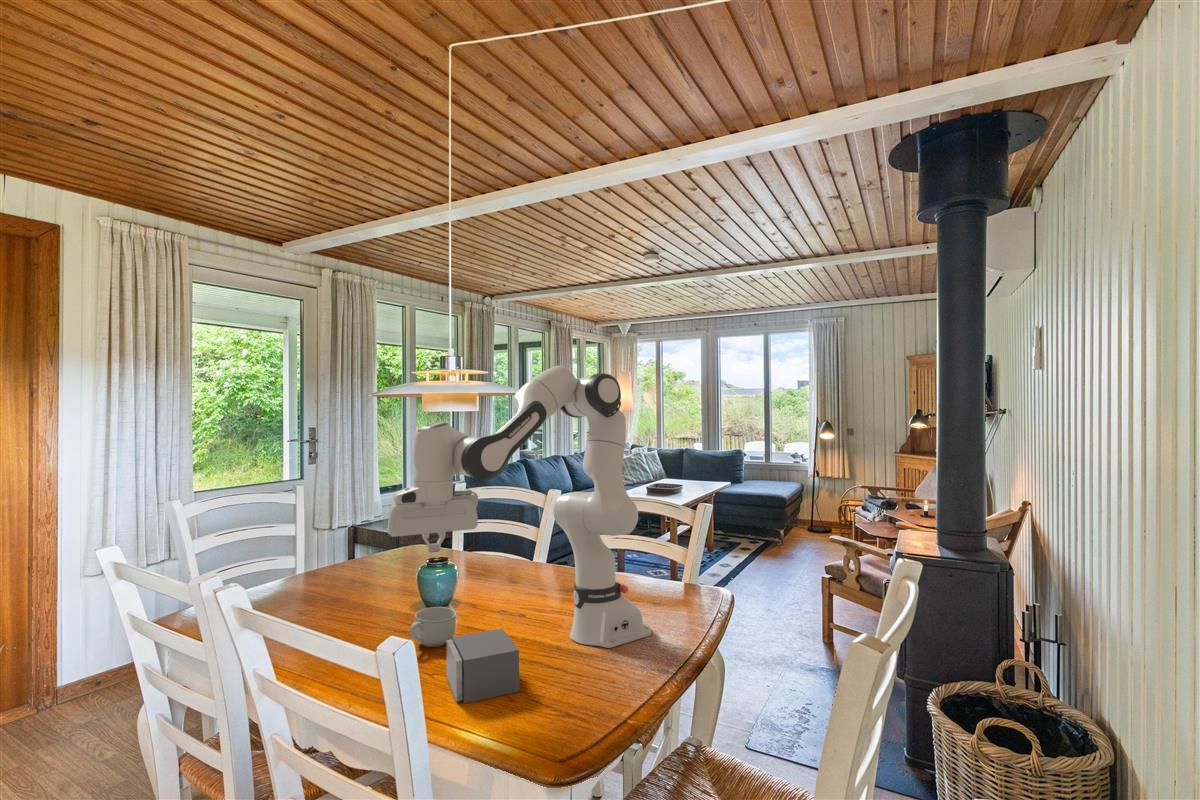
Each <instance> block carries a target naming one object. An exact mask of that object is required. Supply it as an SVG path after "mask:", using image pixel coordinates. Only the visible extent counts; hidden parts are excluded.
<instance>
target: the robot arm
mask: <svg viewBox="0 0 1200 800" xmlns="http://www.w3.org/2000/svg"><path fill="white" fill-rule="evenodd" d="M617 380H618V379H616V378H615V377H614V376H613V375H611V374H608V373H604V372H603V373H599V372H598V373H595V374H591V375H587V376H583V377H581V378H577V377H575V375H574V374H573V372H572V371H571V370H570V369H569V368H568V367H565V366H563V365H554V366H552V367H549V368H548V369H545V370H544V371H542V372H540V373H539V374H537V375H535V376H534V377H533V378H531V379H530V380H529V381H527V382H526V383H524V384H523V385H522V386H521V387H520V388H519V389H518V390H517V391H516V393H515V394H514V395H513V397H512V409H513V410H514V414H515V415H513V416H512V418H510V419H509V420H508V421H507V422H506V423H505V424H504V425H502V427H500V429H498V430H497V431H496V432H495V433H492V434H491V435H490V434H489V435H485V436H472V435H469V434H466V433H463V432H461V431H459V430H457V428H456V429H455V428H454V427H452V426H451V424H449V423H448V422H438V423H437V422H436V423H431V424H427V425H423V426H421V427H420V428H419V429H418V430H417V431H416V434H415V438H414V446H413V464H414V467H415V474H414V478H413V485H411V486H408V487H406V488H403V489H400V490H398V491H395V492H394V494H393V502H394V503H392V505H391V506H390V509H389V513H388V520H387V533H388V535H390V537H392V538H393V537H394V538H395V537H404V536H406V537H407V536H414V535H415V536H416V535H421V537H422V539H423V541H424V542H425V544H426V552H427V554H430V553H431V554H432V553H438V552H441V550H442V549H441V548H442V547H441V545H442V544H443V542H444V540H445V538H446V535H447V534H446V532H457V531H460V532H461V531H467V530H475V529H476V528H477V527H478V525H479V520H478V510H477V507H478V504H479V496H478V494H477V492H474V491H472V490H471V489H466V490H454V475H457V474H458V475H462V476H465V477H470V478H473V479H476V480H478V481H483V482H484V481H485V482H488V481H492V480H495V479H496V478H498V477H499V476H500V475H502V473H503V472H504V471H505V468H506V467H507V465H508V463H509V462H510V460H511V458H512V456H513V455H514V454H515V452H517V450H519V448H520V447H522V446H523V444H525V442H527V441H528V440H529V438H531V436H532V435H534V434H535V432H537V430H539V429H540V427H541V426H542V425H543V424H544V422H545V421H546V420H548V419H550V418H551V417H552V416H554V414H556V413H557V412H558V411H559V410H560V411H561V412H562V413H564V415H566V416H568V417H571V418H578V419H579V418H583V417H586V418H587V421H588V433H587V435H586V436H587V437H586V444H585V448H584V453H583V454H584V455H583V462H582V469H583V472H584V473H585V474H586V476H587V477H589V478H590V479H591V480H592V482H593V485H594V486H593V487H594V488H593V489H594V492H586V491H572V492H571V491H570V492H567V493H566V492H565V493H562V494H560V495H559V496H558V497H557V498H556V501H555V503H554V505H553V510H552V511H553V512H552V513H553V517H554V520H555V523H556V524H557V525H558V526H559V527H560V528H561V529H562V530H563V531H564V533H565V534H566V537H567V539H568V541H569V543H570V545H571V549H572V552H573V559H574V569H575V571H574V573H575V575H574V576H575V577H574V578H575V581H574V584H573V603H574V612H573V620H572V626H571V629H570V633H569V637H570V639H571V640H572V641H573V642H576V643H578V644H581V645H587V646H595V647H596V646H597V647H602V648H605V649H606V648H607V649H611V648H614V647H618V646H620V645H624V644H627V643H630V642H633V641H637V640H640V639H643V638H646V637H649V636H651V635H652V630H651V629H652V628H651V627H650V626H649V625H648V624H647V623H646V622H645V621H644V619H643V615H642V612H641V610H640V609H639V607H638V606H637V605H636V604H634V603H633V602H632V601H631V600H629V599H628V598H626V597H625V596H623V594H627V593H628V592H629V587H628V586H626V585H625V584H621V583H619V582H617V581H616V556H615V553H614V552H613V551H612V550H611V548H610V547H608V546H607V545H606V544H605V542H604V541H603V540H602V537H601V535H604V536H609V537H610V536H612V537H614V536H625V535H630V534H631V533H632V532H633V531H634V529H635V528H636V526H637V524H638V522H639V510H638V507H637V505H636V503H635V501H634V500H633V499H632V498H631V497H630V495H629V494H628V492H627V490H626V488H625V486H624V480H623V463H624V455H625V446H626V438H627V437H626V436H627V433H626V432H627V423H626V422H627V421H626V419H627V418H626V416H625V414H624V413H623V412H622V411H621V410H620V408H621V406H622V401H621V399H622V392H621V391H622V390H621V387H620V384H619V381H617ZM430 534H437V536H438V537H439V538H438V539H437V541H436V542H433V543H432V542H431V543H430V542H429V540H428V539H430Z"/></svg>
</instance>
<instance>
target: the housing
mask: <svg viewBox="0 0 1200 800" xmlns="http://www.w3.org/2000/svg"><path fill="white" fill-rule="evenodd" d="M451 639H452V641H453V643H454V645H455V647H456V649H457V651H458V653H459V655H460V657H461V659H462V665H463V698H462V702H463V704H468V703H469V704H470V703H472V702H477V701H481V700H486V699H490V698H495V697H500V696H504V695H508V694H513V693H518V692H520V650H519V647H518V646H517V645H516V643H514V641H513V640H512V639H511V637H510V636H509V635H508V634H507V632H506V631H505V630H504V628H497V629H491V630H486V631H479V632H475V633H468V634H462V635H456V636H453V637H452V638H451Z"/></svg>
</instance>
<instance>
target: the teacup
mask: <svg viewBox="0 0 1200 800" xmlns="http://www.w3.org/2000/svg"><path fill="white" fill-rule="evenodd" d="M414 614H415V615H414V617H415V618H414V622H413V623H412V624H411V625H410V628H409V636H410V637H411V638H412V639H413V640H416V641H417V642H418V643H420V644H421V645H423V646H424V647H427V648H438V647H442V646H444V645H447V640H451V639H452V637H454V635H455V632H456V622H457V620H456V619H457V611H456V610H454V609H453V608H452V607H447V606H446V607H445V606H433V607H432V606H431V607H426V608H423V609H420V610H418V611H417V612H415V613H414Z"/></svg>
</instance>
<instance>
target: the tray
mask: <svg viewBox="0 0 1200 800" xmlns="http://www.w3.org/2000/svg"><path fill="white" fill-rule="evenodd" d="M446 680H447V681H448V684H449V687H450V689H451V692H452V694H453V696H454V698H455V702H456V703H457V702H461V701H462V702H463V665H462V659H461V657H460V655H459V653H458V651H457V649H456V647H455V645H454V643H453V641H452V638H451V639H450V640H447V643H446Z"/></svg>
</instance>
